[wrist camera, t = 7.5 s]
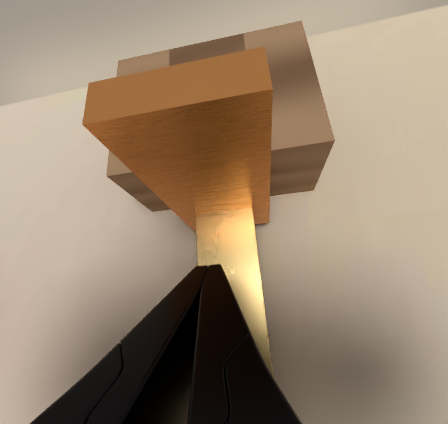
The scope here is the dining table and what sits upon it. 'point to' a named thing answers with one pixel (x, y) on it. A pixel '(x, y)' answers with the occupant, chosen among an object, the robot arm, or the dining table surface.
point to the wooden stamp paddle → (201, 156)
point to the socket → (281, 108)
